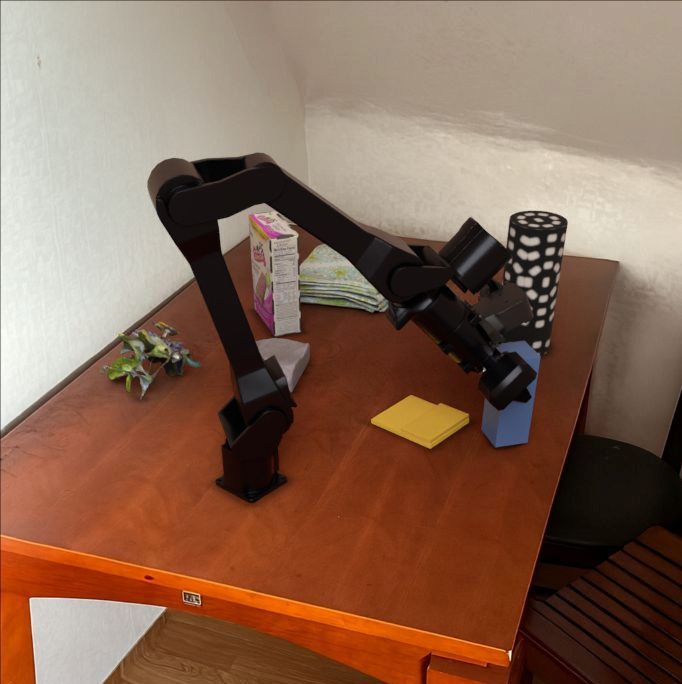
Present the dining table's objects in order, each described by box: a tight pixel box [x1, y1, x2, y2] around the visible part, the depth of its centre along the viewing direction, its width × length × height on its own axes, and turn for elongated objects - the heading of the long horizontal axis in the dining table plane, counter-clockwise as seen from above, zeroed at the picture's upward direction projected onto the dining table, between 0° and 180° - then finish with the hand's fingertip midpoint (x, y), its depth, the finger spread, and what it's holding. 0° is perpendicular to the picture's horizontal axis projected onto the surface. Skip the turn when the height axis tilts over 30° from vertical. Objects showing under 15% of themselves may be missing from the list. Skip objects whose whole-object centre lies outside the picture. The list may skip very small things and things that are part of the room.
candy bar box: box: [248, 210, 302, 337], centre depth 149 cm, size 11×5×16 cm, turn 22°
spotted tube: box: [500, 210, 569, 356], centre depth 142 cm, size 8×8×20 cm
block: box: [480, 341, 541, 448], centre depth 120 cm, size 5×5×12 cm
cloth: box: [370, 394, 470, 450], centre depth 128 cm, size 9×10×1 cm
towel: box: [300, 243, 388, 313], centre depth 164 cm, size 18×21×5 cm
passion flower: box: [100, 320, 202, 401], centre depth 134 cm, size 11×11×12 cm
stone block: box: [255, 337, 311, 394], centre depth 138 cm, size 12×5×10 cm
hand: (520, 390), depth 120 cm, fingers closed on block, 4 cm apart
